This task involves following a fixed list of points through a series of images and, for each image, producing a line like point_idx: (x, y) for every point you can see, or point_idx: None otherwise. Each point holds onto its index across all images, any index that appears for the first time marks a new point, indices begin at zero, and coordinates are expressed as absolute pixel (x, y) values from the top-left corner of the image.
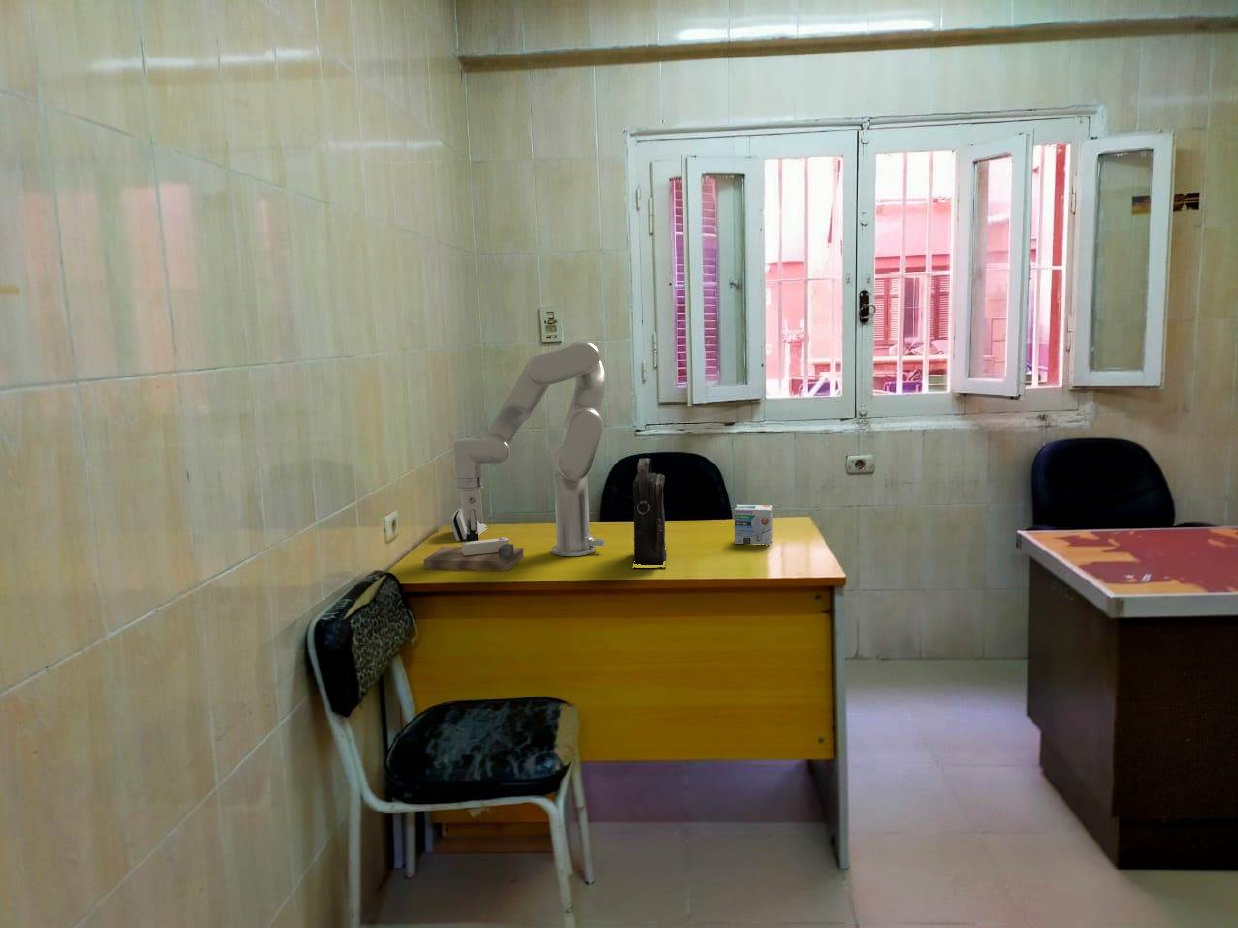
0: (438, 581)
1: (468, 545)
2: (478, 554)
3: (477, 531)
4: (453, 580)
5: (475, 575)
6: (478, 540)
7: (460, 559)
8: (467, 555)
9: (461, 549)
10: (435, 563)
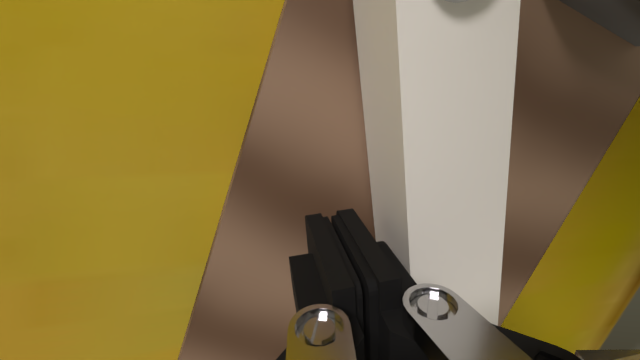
0: (607, 314)
1: (493, 294)
2: None
3: (465, 304)
4: (628, 264)
5: (615, 180)
6: (368, 234)
7: (504, 285)
8: None
9: (261, 313)
10: None
